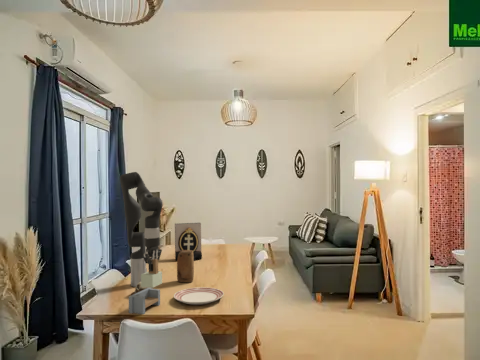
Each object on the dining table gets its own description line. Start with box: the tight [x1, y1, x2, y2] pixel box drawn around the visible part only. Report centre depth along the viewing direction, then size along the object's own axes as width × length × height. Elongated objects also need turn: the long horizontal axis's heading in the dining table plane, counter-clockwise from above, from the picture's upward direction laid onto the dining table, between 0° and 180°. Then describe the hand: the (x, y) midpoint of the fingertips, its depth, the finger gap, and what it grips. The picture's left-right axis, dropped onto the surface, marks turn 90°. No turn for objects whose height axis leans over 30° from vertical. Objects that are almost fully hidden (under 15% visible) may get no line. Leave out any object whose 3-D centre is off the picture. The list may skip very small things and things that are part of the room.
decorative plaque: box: [174, 222, 203, 262], centre depth 290 cm, size 21×11×30 cm, turn 104°
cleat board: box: [128, 287, 161, 315], centre depth 179 cm, size 8×16×8 cm, turn 158°
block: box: [176, 250, 195, 283], centre depth 226 cm, size 11×8×20 cm
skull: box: [130, 282, 151, 296], centre depth 201 cm, size 12×10×10 cm
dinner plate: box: [173, 286, 225, 306], centre depth 192 cm, size 27×27×3 cm
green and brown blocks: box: [141, 259, 163, 289], centre depth 177 cm, size 7×8×13 cm
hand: (152, 270), depth 177 cm, fingers closed on green and brown blocks
